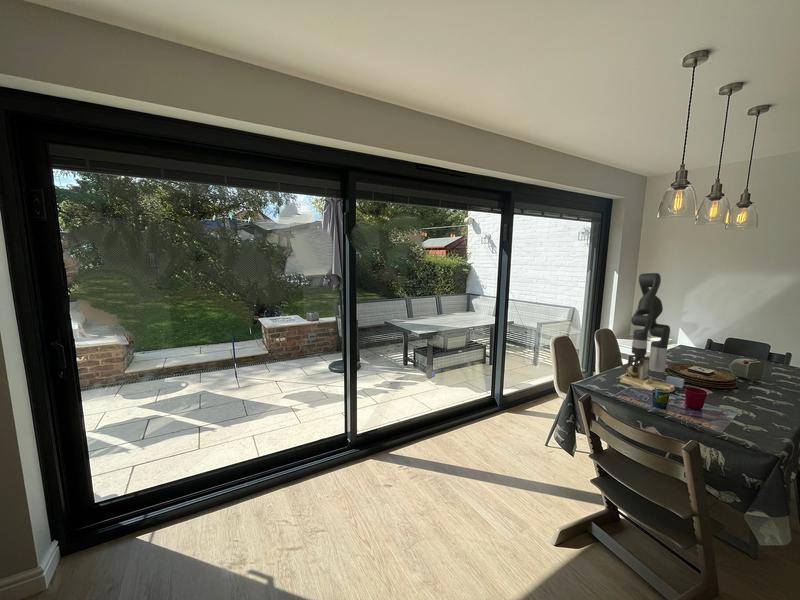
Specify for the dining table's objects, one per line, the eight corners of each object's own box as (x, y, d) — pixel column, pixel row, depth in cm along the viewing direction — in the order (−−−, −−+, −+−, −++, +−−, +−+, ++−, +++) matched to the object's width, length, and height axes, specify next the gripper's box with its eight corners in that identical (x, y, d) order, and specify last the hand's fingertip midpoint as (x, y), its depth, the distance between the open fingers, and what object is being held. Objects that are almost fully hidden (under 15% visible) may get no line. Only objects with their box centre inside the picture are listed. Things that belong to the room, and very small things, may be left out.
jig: (628, 377, 219) (628, 372, 218) (674, 389, 199) (675, 383, 198) (619, 381, 211) (620, 375, 211) (667, 394, 191) (668, 388, 191)
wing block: (667, 383, 210) (668, 375, 210) (683, 386, 204) (684, 379, 203) (665, 384, 208) (666, 376, 207) (682, 388, 201) (682, 380, 201)
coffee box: (625, 379, 212) (627, 355, 210) (631, 378, 215) (633, 354, 213) (641, 384, 204) (643, 359, 202) (647, 382, 207) (649, 358, 205)
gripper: (637, 343, 214) (634, 367, 216) (627, 346, 206) (625, 371, 208) (650, 346, 208) (648, 370, 210) (642, 349, 200) (639, 375, 202)
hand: (637, 371), depth 209 cm, fingers open, 8 cm apart
